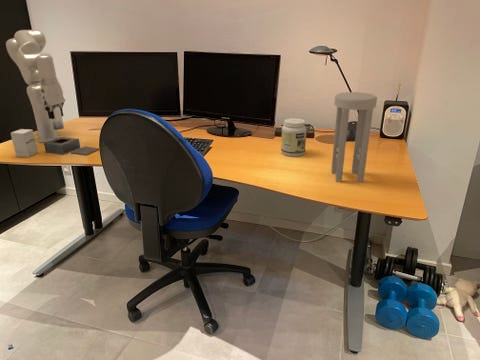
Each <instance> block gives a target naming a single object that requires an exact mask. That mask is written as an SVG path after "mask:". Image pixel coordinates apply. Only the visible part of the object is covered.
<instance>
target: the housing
mask: <svg viewBox="0 0 480 360" xmlns="http://www.w3.org/2000/svg"><path fill="white" fill-rule="evenodd" d="M43 147H44V150H45V153H48V154H55V155H63V156H64V155H67V154H69V153H71V152H73V151H75V150H77V149H80V148H81V144H80V139H79V138H75V137H67V136H61V137H59V138H56V139H54V140H51V141H48V142H43Z"/></svg>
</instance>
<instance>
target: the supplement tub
mask: <svg viewBox="0 0 480 360" xmlns="http://www.w3.org/2000/svg"><path fill="white" fill-rule="evenodd" d="M305 125H306V120H305V119H302V118H296V117H292V118H290V117H289V118H286V119H284V120H283V125H282V127H281V141H280V142H281V143H280V144H281V145H280V148H281V149H280V151H281V153H282V155H284V156H285V157H286V156H287V157H293V158H294V157H295V158H296V157H301V156H303V155H305V153H306V144H307V143H306V142H307V141H306V140H307V126H305Z"/></svg>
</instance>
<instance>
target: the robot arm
mask: <svg viewBox="0 0 480 360" xmlns="http://www.w3.org/2000/svg"><path fill="white" fill-rule="evenodd" d="M46 44H47V39H46V36H45V34H44V33H43V32H42V31H41V30H39V29H21V30H18V31H16V32H15V33H14V35H13V38H10V39H8V40H7V41H5V46H6V51H7V53H8V55H9V56H10V59H12V61H13V62H14V63H15V64H16V66H17V67H18V69H19V71H20V73H21V76H22V78H23V80H24V82H25V83H26V84H27V85H28V86H26V94H27V96H28V98H29V101H30V104H31V106H32V111H33V114H34V119H35V123H36V128H37V130H36V132H35V134H34V136H38V137H37V138H36V142H38V143H45V142H48V141H51V140H54V139H56V138H59V137H62V135H61V134H58V130H54V129H53V126H52V121H51V119H55V118H54V113H53V111H52V106H53V105H57V104H59V105H60V110H61V115H62V117H64V112H63V108H64V107H63V106H64V104H65V102H66V99H65V98H64V92H63V89H62V88H63V87H62V86H61V84H60V82H59V80H58V78H57V73H56V67H55V63H54V58H53V56H52V55H51V54H49V53H47V52H43V53H42V51H43V50H44V48H45V47H46Z"/></svg>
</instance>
